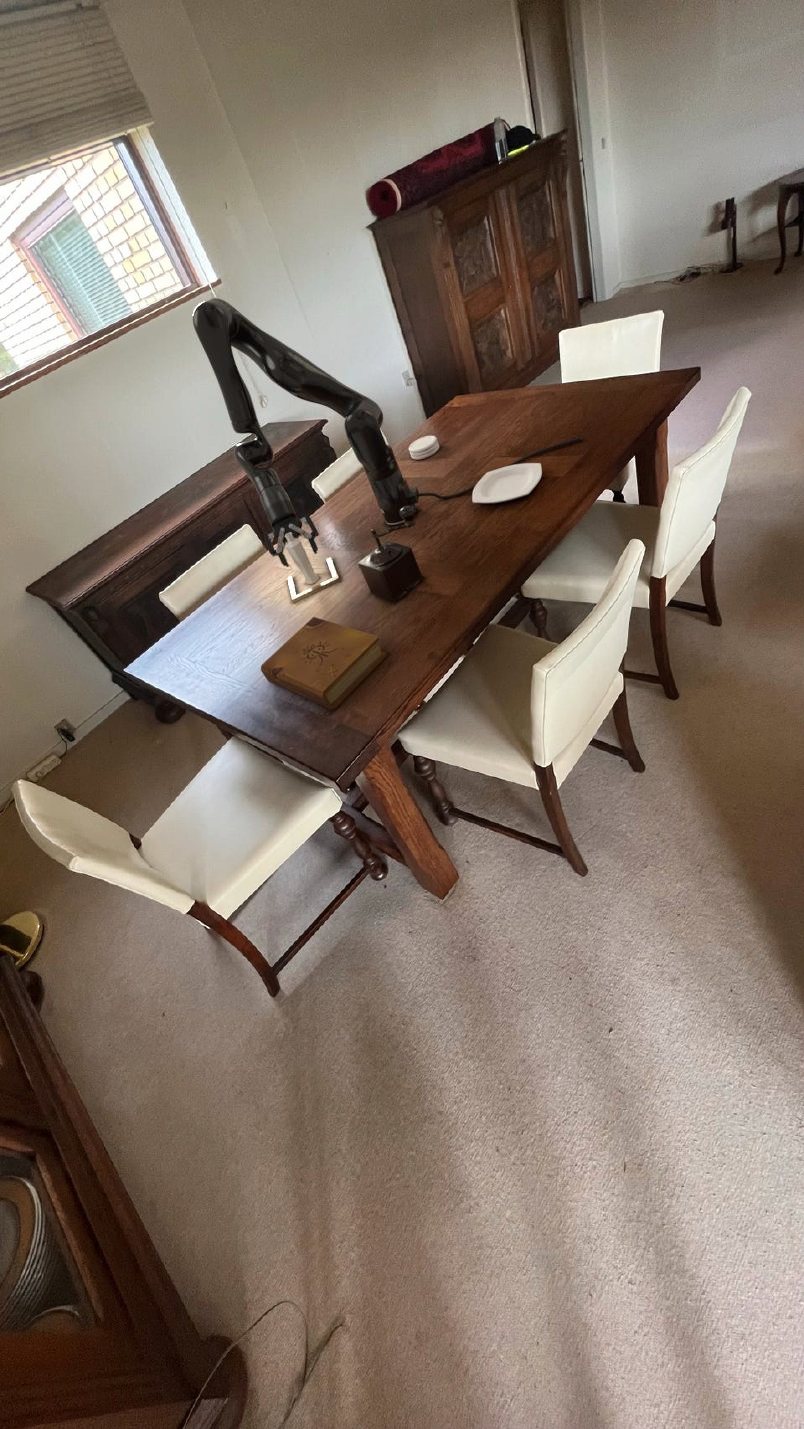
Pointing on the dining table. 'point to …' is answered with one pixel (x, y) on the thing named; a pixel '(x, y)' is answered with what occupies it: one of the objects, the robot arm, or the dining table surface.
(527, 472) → the plate
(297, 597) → the brass frame
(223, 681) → the dining table surface
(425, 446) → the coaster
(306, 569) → the white faceted vase
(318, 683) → the diary
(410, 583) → the black coffee grinder
